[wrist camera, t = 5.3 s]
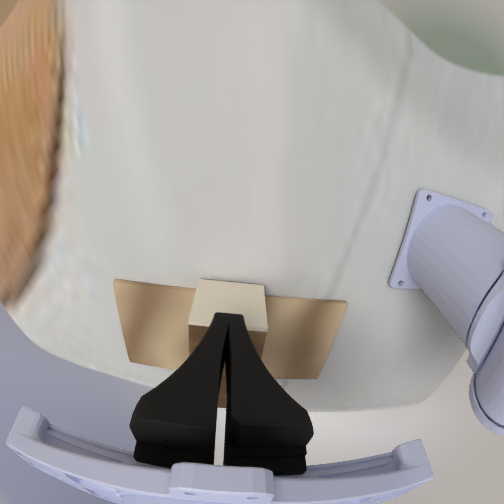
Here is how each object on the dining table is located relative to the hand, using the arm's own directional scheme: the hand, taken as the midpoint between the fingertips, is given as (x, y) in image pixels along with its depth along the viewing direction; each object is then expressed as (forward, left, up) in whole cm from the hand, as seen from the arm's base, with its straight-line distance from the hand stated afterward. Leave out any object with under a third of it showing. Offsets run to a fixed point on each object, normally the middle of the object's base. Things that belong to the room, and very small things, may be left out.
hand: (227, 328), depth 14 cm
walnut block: (0, +1, -4) cm, 4 cm away
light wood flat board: (0, +7, -6) cm, 9 cm away
